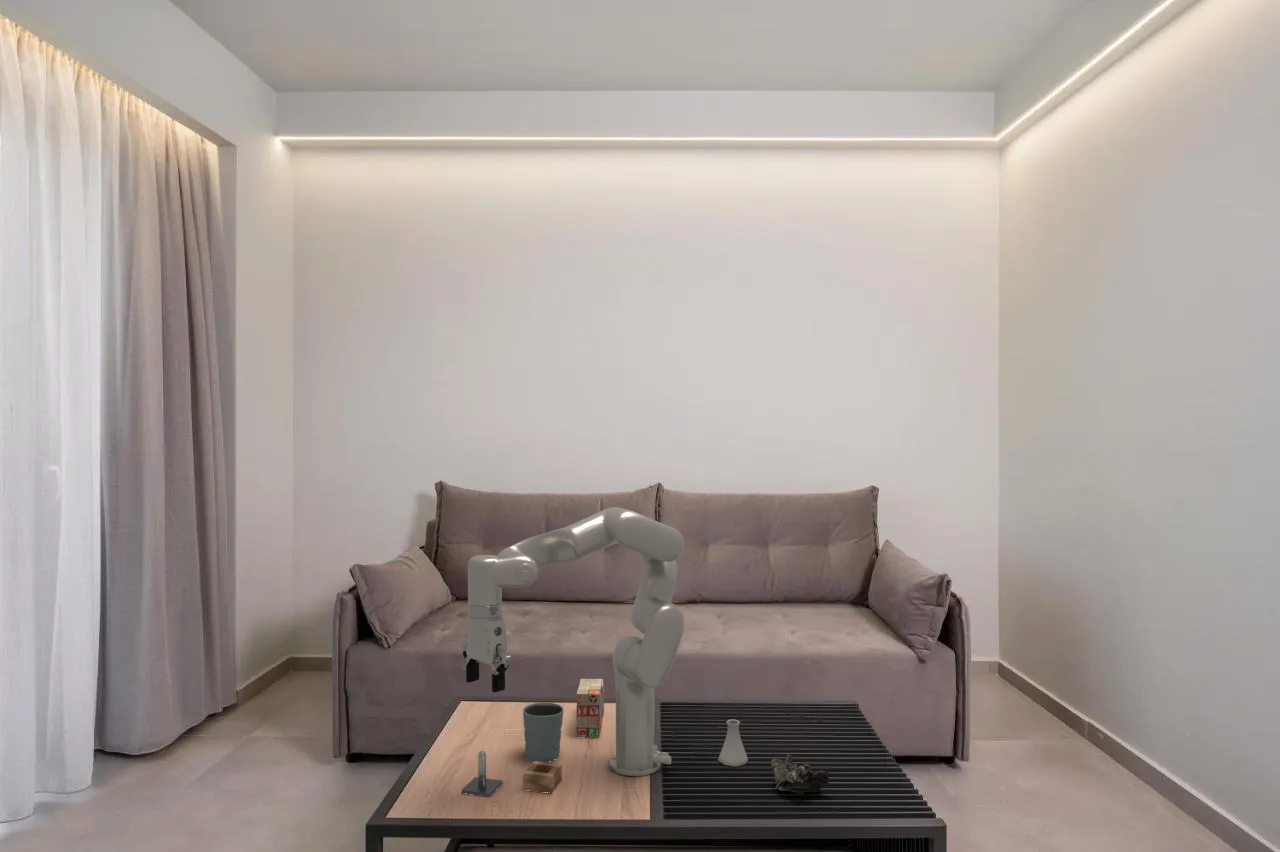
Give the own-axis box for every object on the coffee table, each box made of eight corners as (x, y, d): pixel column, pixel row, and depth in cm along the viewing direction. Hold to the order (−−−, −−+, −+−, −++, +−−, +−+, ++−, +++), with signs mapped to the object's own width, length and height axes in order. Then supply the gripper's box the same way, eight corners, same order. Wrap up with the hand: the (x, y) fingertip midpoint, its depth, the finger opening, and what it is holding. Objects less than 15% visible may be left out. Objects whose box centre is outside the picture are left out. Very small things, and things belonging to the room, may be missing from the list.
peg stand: (502, 783, 197) (502, 746, 197) (489, 797, 190) (489, 758, 190) (474, 780, 199) (474, 743, 198) (461, 793, 192) (461, 755, 192)
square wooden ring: (562, 780, 198) (562, 764, 198) (551, 794, 192) (551, 776, 192) (534, 777, 200) (534, 761, 200) (523, 790, 193) (523, 773, 193)
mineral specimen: (844, 773, 191) (818, 736, 192) (808, 813, 185) (781, 775, 186) (810, 770, 204) (786, 736, 205) (776, 807, 198) (750, 772, 199)
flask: (753, 761, 210) (753, 721, 210) (736, 770, 205) (736, 729, 205) (730, 752, 215) (730, 714, 215) (712, 761, 210) (712, 721, 210)
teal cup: (514, 756, 213) (514, 709, 212) (545, 744, 220) (545, 699, 220) (541, 767, 206) (541, 719, 205) (571, 755, 213) (571, 708, 213)
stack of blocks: (582, 710, 246) (582, 668, 246) (604, 710, 246) (604, 668, 245) (576, 738, 224) (576, 693, 224) (599, 739, 224) (599, 693, 224)
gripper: (522, 614, 186) (522, 690, 187) (476, 601, 198) (476, 673, 199) (494, 620, 181) (495, 699, 181) (449, 607, 193) (449, 681, 193)
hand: (485, 685), depth 190 cm, fingers open, 9 cm apart
